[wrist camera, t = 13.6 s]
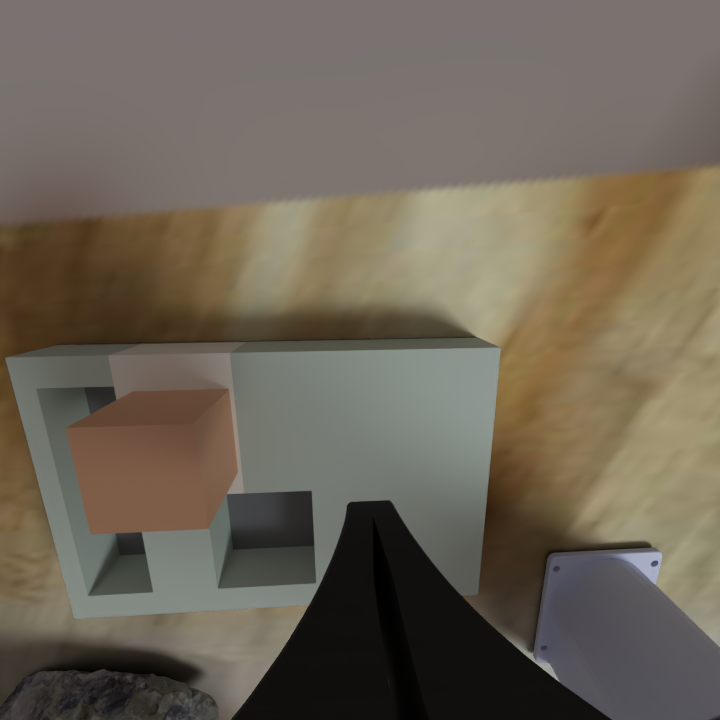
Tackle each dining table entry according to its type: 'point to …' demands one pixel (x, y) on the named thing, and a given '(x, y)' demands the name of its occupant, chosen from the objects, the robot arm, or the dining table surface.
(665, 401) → the dining table surface
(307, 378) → the board
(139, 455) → the terracotta block
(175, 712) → the mineral rock
